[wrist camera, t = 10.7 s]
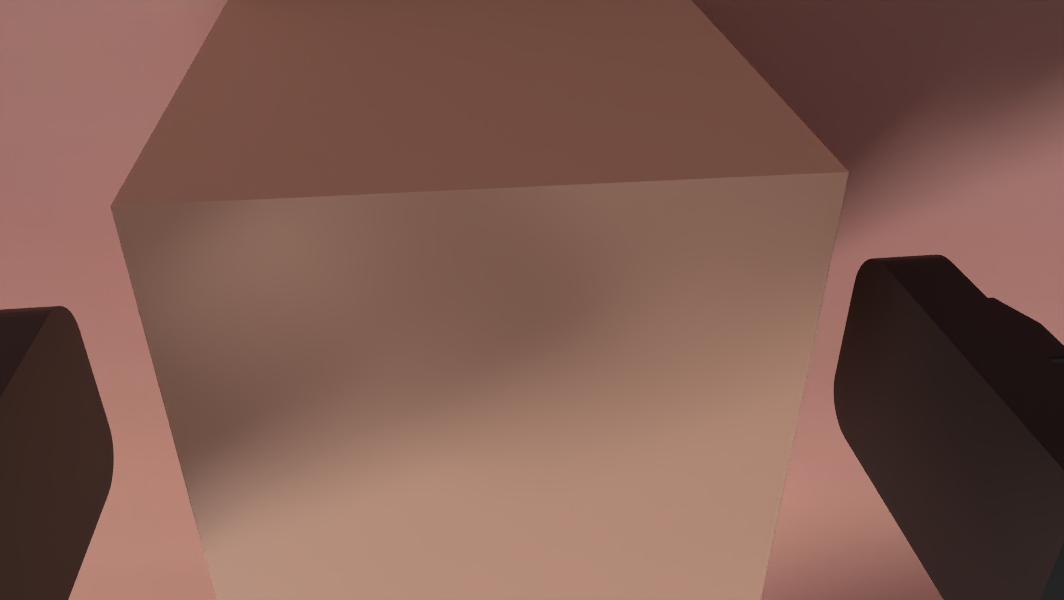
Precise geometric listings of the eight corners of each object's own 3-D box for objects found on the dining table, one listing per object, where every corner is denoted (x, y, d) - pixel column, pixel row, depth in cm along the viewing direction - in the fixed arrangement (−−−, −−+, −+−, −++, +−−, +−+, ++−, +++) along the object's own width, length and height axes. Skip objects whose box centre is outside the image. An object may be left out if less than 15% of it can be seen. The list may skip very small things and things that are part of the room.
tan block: (230, -4, 10) (110, 206, 6) (677, -16, 11) (849, 171, 7) (292, 362, 13) (238, 680, 9) (646, 340, 13) (754, 631, 9)
